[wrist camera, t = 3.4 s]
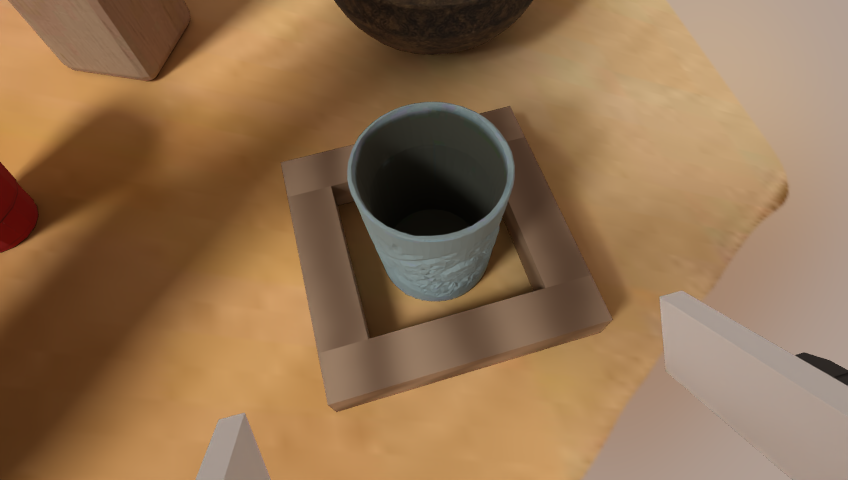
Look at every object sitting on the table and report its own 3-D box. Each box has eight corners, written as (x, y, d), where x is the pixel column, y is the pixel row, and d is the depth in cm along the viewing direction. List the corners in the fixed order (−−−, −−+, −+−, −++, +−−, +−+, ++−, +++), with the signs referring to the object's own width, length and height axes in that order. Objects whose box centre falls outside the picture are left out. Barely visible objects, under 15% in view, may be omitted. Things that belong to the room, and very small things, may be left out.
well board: (336, 411, 35) (328, 405, 33) (290, 182, 44) (280, 162, 41) (600, 332, 37) (612, 319, 35) (505, 128, 46) (510, 106, 44)
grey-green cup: (474, 328, 38) (488, 262, 27) (350, 288, 40) (318, 211, 29) (509, 216, 42) (533, 121, 31) (396, 185, 44) (382, 84, 33)
